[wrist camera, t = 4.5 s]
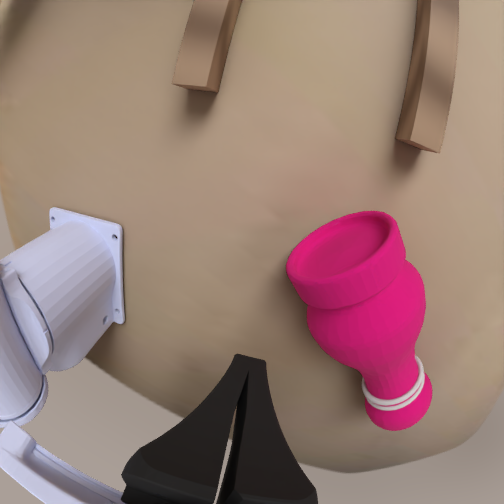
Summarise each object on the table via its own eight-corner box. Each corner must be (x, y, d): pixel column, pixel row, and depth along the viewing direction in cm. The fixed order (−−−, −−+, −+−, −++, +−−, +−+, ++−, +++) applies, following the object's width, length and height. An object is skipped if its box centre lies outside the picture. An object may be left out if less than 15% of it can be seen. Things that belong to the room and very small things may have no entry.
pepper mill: (332, 207, 18) (398, 376, 25) (253, 275, 16) (354, 429, 22) (427, 202, 12) (453, 398, 18) (348, 305, 10) (409, 462, 16)
